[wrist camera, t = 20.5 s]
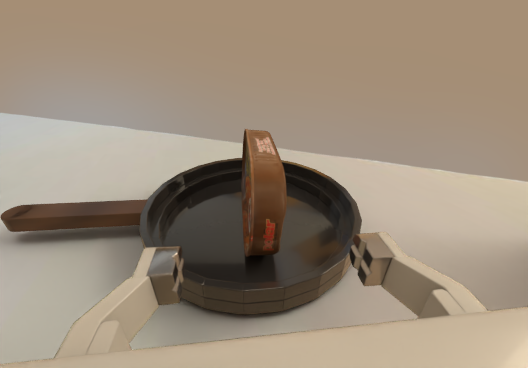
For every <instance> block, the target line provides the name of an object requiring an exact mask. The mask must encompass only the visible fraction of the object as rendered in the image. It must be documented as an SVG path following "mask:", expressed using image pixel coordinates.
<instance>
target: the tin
mask: <svg viewBox="0 0 528 368" xmlns="http://www.w3.org/2000/svg"><path fill="white" fill-rule="evenodd" d="M241 190H242V191H241V192H242V216H243V237H244V250H245V255H246V256H247V257H248V256H250V255H273V254H276V253H278V252H279V250H280V240H281V234H282V227H283V222H284V218H285V214H286V202H287V200H286V180H285V173H284V168H283V164H282V162H281V159H280V156H279V154H278V151H277V149H276V146H275V144H274V142H273V139H272V137H271V135H270V133H269V132H267V131H259V130H248V129H245V131H244V141H243V156H242V182H241Z"/></svg>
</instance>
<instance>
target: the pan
mask: <svg viewBox="0 0 528 368" xmlns="http://www.w3.org/2000/svg"><path fill="white" fill-rule="evenodd" d="M281 162H282V164H283V168H284V173H285V180H286V200H287V202H286V214H285V218H284V222H283V227H282V234H281V240H280V250H279V252H278V253H276V254H273V255H250V256H248V257H247V256H246V255H245V250H244V237H243V216H242V192H241V191H242V190H241V182H242V158H235V159H228V160H221V161H215V162H211V163H208V164H204V165H200V166H197V167H194V168H192V169H189V170H187V171H184V172H182V173H180V174H178V175H176V176H175V177H173V178H172V179H170V180H168V181H167V182H165V183H164V184H162V185H161V186H160V187H159V188H158V189H157V190H156V191H155V192H154V193H153V194H152V195H151V196H150V197H149V199H148V201H147V202H146V204H145V206H144V208H143V210H142V212H141V214H140V230H139V233H140V237H141V240H142V243H143V247H144V249H145V248H151V247H168V246H181V247H182V251H183V253H182V258H183V259H184V261H185V277H184V281H183V282H182V283H181V286H182V293H181V298H183V299H186V300H188V301H190V302H192V303H194V304H196V305H199V306H201V307H203V308H205V309H209V310H216V311H222V312H228V313H235V314H241V315H244V314H245V315H247V314H257V313H268V312H278V311H282V310H283V311H285V310H287V309H290V308H293V307H296V306H298V305H301V304H304V303H306V302H309V301H312V300H314V299H316V298H318V297H319V296H320V295H322V294H323V293H324V292H326V291H327V290H328V289H329V288H331V287H332V286H333V285H335V284H336V283H337V282H339V281H340V280H341V278H342V277H343V275H344V274H345V272H346V271H347V269H348V267H349V266H350V264H351V260H350V254H349V252H350V247H351V246H352V245H354V242H353V241H352V240H353V236H354V235H355V234H360V229H361V222H362V219H361V216H360V213H359V210H358V206H357V203H356V202H355V201H354V199H353V198H352V197H351V195H350V194H349V193H348V191H347V190H346V189H345V188H344V187H342V186H341V185H340V184H339V183H337V182H336V181H335V180H333V179H332V178H331V177H329V176H327V175H325V174H323V173H321V172H319V171H317V170H315V169H312V168H309V167H306V166H303V165H300V164H297V163H293V162H288V161H283V160H281Z"/></svg>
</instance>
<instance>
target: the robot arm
mask: <svg viewBox="0 0 528 368" xmlns="http://www.w3.org/2000/svg"><path fill="white" fill-rule="evenodd" d="M352 241H353V242H354V245H352V246H351V247H350V252H349V254H350V260H351V263H352V265H353V267H354V268H356V269H357V270H359V271H358V276H359V278H360V280H361V282H362V283H363V285H364V286H376V285H382V287H383V288H384V289H386V290H387V291H388V292H389V293H390V294H392V295H393V296H394V297H395V298H397V299H398V300H399V301H400V302H401V303H403V304H404V305H405V306H406V307H407V308H409V309H410V310H411V311H412V312H414V313H415V314H416V315H417V316H418V318H417V319H412V320H403V321H393V322H384V323H375V324H366V325H357V326H348V327H339V328H330V329H321V330H312V331H302V332H293V333H284V334H274V335H265V336H256V337H247V338H237V339H228V340H219V341H210V342H201V343H191V344H182V345H173V346H164V347H155V348H145V349H136V350H132V349H131V347H130V345H129V343H130V342H131V340H132V339H133V338H134V337H135V336H136V334H137V333H138V332H139V331H140V329H141V328H142V327H143V326H144V324H145V323H146V322H147V321H148V319H149V318H150V317H151V316H152V315H153V313H154V312H155V311H156V310H157V308H158V307H159V305H167V304H175V303H180V298H181V293H182V286H181V283H182V282H183V281H184V277H185V261H184V259H183V258H182V253H183V251H182V247H181V246H168V247H151V248H145V249H144V250H143V252H142V255H141V257H140V259H139V262H138V264H137V266H136V269H135V271H134V274H133V276H132V278H128V279H126V280H125V281H124V282H123V283H122V284H120V285H119V286H118V287H117V288H115V289H114V290H113V291H112V292H111V293H109V294H108V295H107V296H106V297H105V298H103V299H102V300H101V301H100V302H98V303H97V304H96V305H95V306H94V307H92V308H91V309H90V310H89V311H88V312H86V313H85V314H84V315H83V316H82V317H80V318H79V319H78V320H77V321H75V322H74V323H73V325H72V327H71V328H70V330H69V332H68V334H67V336H66V337H65V339H64V341H63V343H62V344H61V346H60V348H59V350H58V352H57V353H56V355H55V357H54V358H53V359H44V360H35V361H26V362H17V363H8V364H0V368H528V307H522V308H513V309H504V310H495V311H488V310H487V309H486V308H485V307H484V306H483V305H482V304H481V303H480V302H479V301H478V300H477V298H476V297H475V296H474V295H473V294H472V293H471V292H470V291H469V290H468V289H467V288H466V287H465V286H464V285H462V284H460V283H458V282H456V281H454V280H453V279H451V278H449V277H447V276H445V275H443V274H442V273H440V272H438V271H436V270H434V269H432V268H431V267H429V266H427V265H425V264H423V263H421V262H420V261H418V260H416V259H414V258H412V257H410V256H406V255H405V254H404V253H403V251H402V250H401V249H400V248H399V246H398V245H397V244H396V243H395V242H394V240H393V239H392V238H391V237H390V236H389V234H388V233H386V232H377V233H365V234H355V235H354V236H353V240H352Z"/></svg>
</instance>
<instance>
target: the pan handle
mask: <svg viewBox="0 0 528 368" xmlns="http://www.w3.org/2000/svg"><path fill="white" fill-rule="evenodd" d="M147 201H148V200H127V201H104V202H80V203H57V204H34V205H21V206H17V207H14V208H11V209H9V210H7V211H5V212H4V213H3V214H2V215H1V219H2V221H3V223H4V224H5V226H6V227H7V229H8V230H9V231H12V232H21V231H39V230H58V229H76V228H95V227H113V226H132V225H140V214H141V212H142V210H143V208H144V206H145V204H146V202H147Z"/></svg>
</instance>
